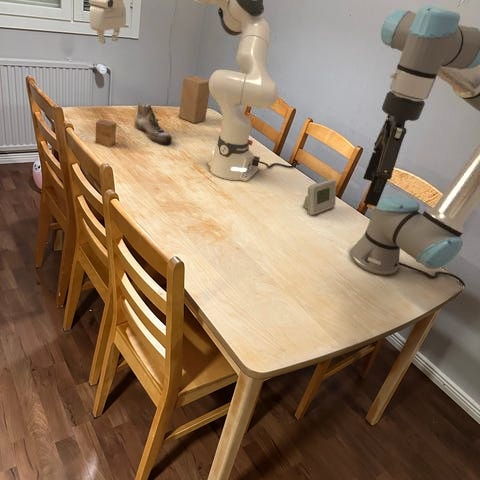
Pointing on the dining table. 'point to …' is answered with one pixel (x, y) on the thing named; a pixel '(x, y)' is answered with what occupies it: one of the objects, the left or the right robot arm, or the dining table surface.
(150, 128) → the shoe
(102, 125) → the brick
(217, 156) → the left robot arm
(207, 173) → the dining table surface
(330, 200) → the digital clock
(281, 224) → the dining table surface
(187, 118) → the wooden block
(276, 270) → the dining table surface
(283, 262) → the dining table surface
